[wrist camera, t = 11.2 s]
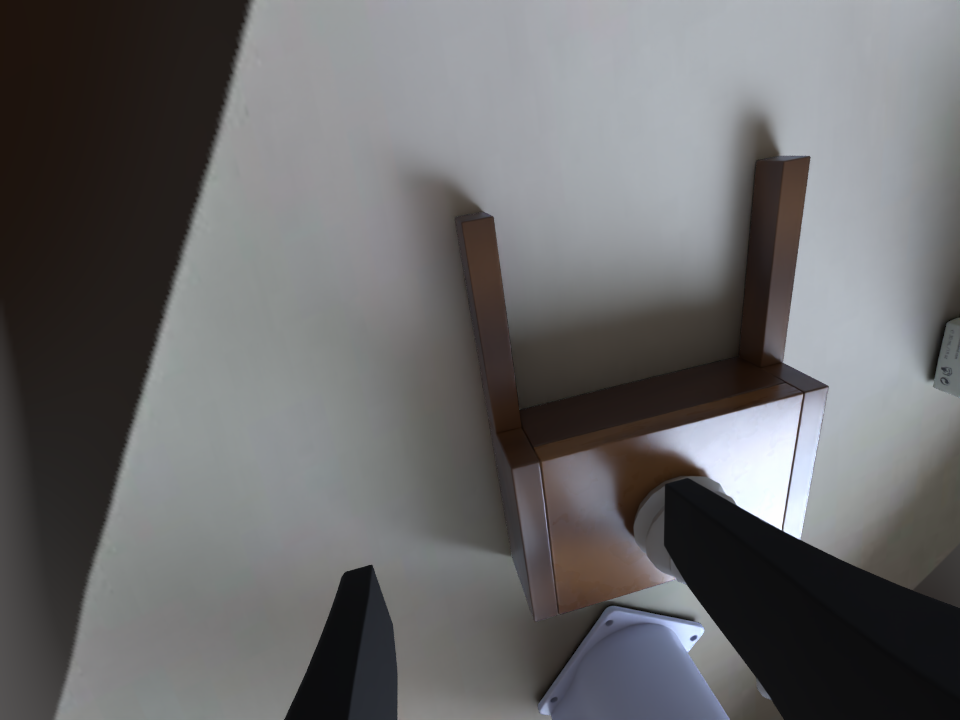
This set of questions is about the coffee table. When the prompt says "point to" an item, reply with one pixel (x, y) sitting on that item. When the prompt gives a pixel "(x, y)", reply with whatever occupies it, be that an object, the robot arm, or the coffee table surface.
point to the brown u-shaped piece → (649, 422)
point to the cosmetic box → (949, 360)
